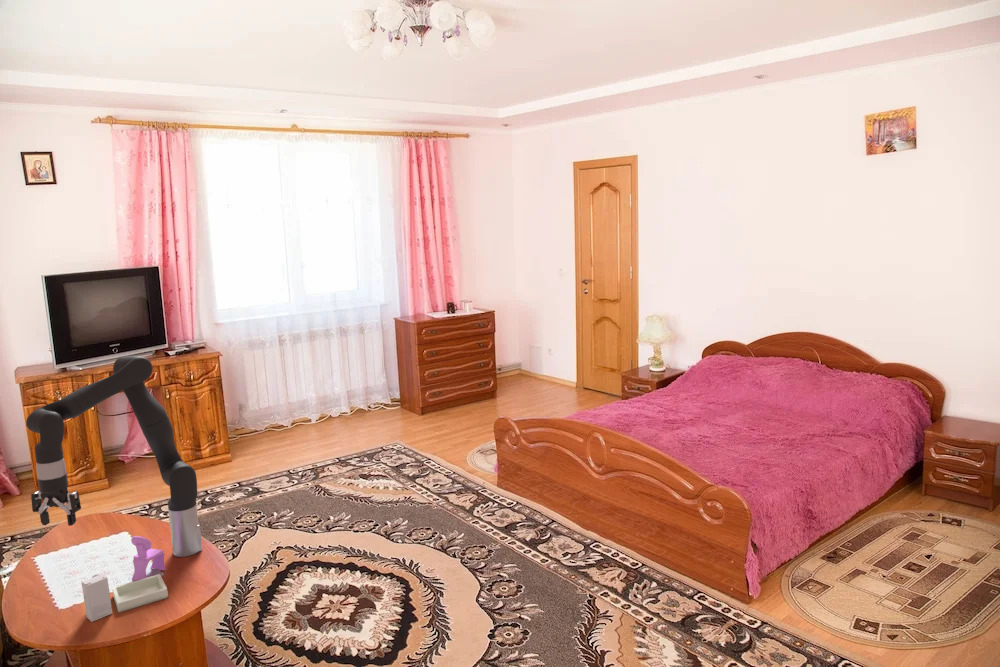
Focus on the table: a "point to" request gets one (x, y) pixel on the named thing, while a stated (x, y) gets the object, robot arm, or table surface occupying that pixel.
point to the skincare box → (96, 597)
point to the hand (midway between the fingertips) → (58, 524)
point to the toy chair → (145, 557)
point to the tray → (139, 593)
